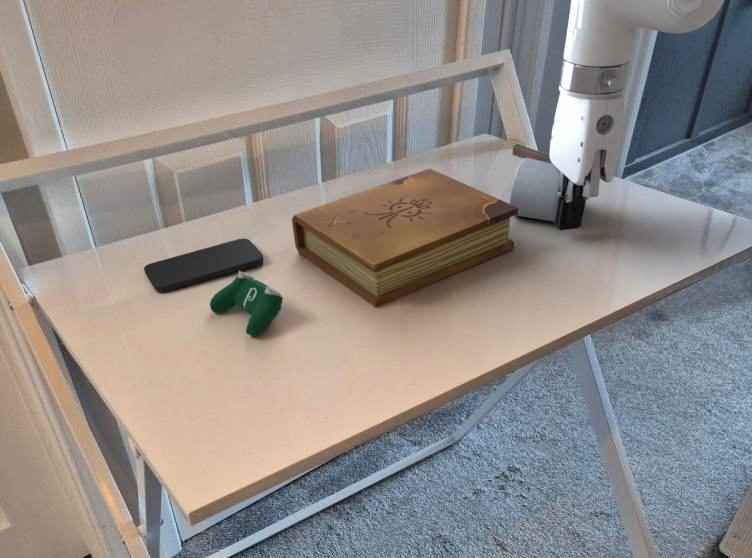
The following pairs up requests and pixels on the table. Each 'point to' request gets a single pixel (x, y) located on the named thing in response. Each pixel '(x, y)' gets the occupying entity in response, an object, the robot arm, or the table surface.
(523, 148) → the back rail
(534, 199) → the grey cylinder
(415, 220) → the diary
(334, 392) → the table surface
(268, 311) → the gaming controller
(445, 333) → the table surface
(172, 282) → the phone
